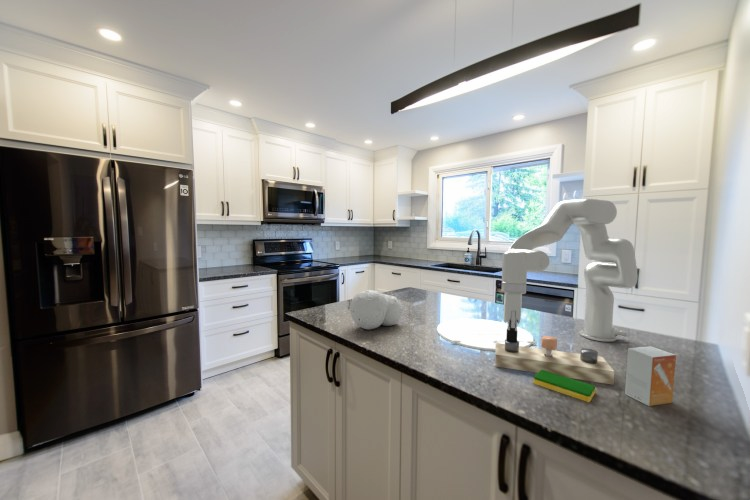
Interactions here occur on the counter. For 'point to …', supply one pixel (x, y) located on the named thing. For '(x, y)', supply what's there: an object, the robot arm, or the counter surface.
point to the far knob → (512, 346)
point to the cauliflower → (375, 309)
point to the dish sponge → (565, 385)
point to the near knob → (588, 355)
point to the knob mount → (554, 364)
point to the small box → (650, 375)
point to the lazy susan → (480, 333)
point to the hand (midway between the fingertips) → (511, 341)
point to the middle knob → (549, 344)
